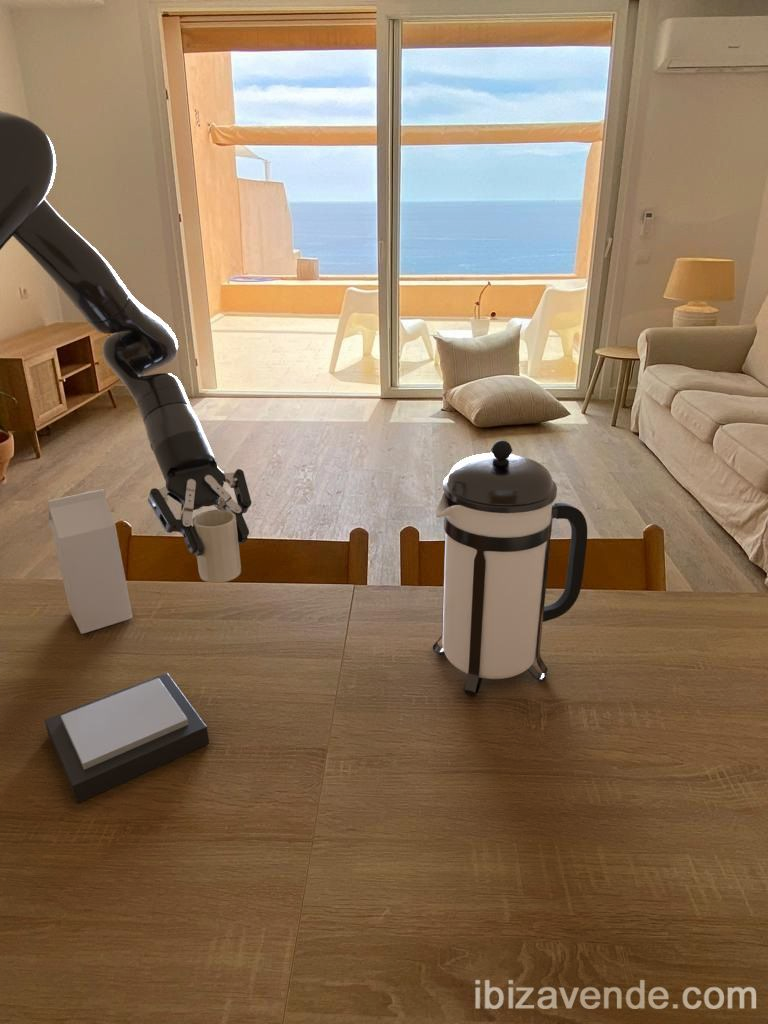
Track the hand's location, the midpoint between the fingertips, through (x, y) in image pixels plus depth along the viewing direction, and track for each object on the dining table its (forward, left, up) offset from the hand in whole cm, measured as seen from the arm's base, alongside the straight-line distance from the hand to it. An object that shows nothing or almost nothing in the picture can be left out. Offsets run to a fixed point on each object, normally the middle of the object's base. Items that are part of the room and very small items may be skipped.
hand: (222, 547), depth 95 cm
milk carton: (-15, +12, -11) cm, 22 cm away
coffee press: (+23, -30, -11) cm, 40 cm away
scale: (-20, -16, -11) cm, 28 cm away
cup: (0, +2, -5) cm, 5 cm away
